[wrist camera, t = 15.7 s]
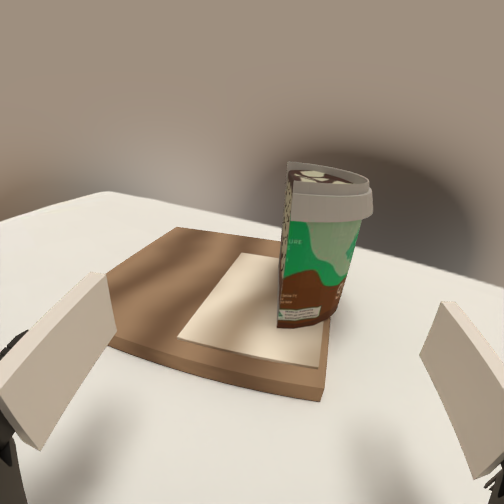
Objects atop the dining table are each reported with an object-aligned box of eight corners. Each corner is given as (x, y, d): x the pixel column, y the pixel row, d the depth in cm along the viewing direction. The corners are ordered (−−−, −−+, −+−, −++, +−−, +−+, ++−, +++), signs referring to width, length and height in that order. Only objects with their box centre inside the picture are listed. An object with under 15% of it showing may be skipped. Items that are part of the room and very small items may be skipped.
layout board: (57, 323, 20) (53, 309, 19) (176, 235, 40) (176, 225, 39) (319, 401, 16) (325, 386, 15) (330, 258, 36) (332, 247, 35)
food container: (367, 346, 18) (405, 196, 15) (275, 342, 19) (294, 182, 15) (338, 268, 30) (353, 168, 26) (278, 262, 30) (287, 160, 26)
